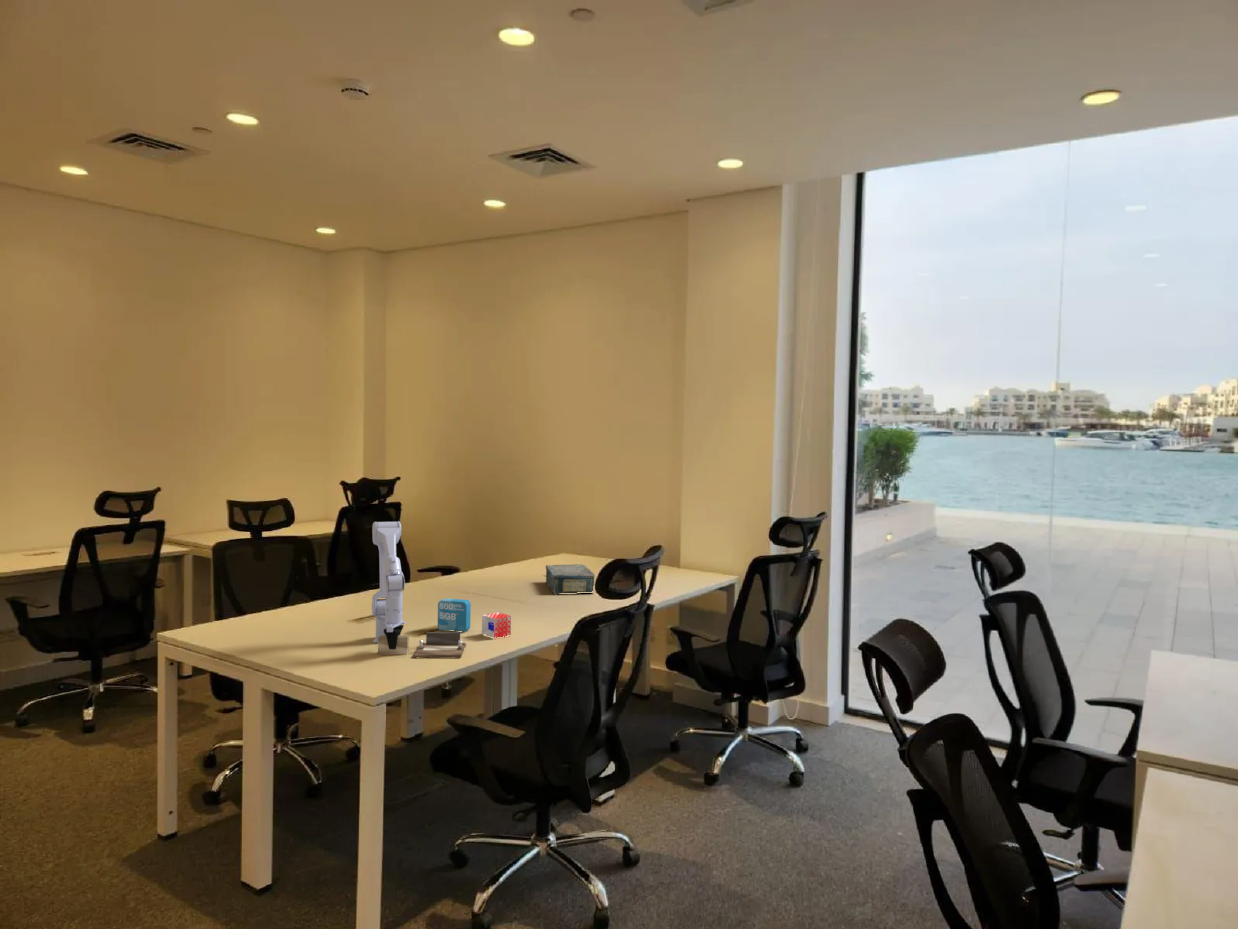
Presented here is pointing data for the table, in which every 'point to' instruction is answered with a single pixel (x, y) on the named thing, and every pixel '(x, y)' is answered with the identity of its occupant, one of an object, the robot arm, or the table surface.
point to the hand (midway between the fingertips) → (393, 647)
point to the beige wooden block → (401, 645)
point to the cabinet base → (441, 645)
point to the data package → (454, 614)
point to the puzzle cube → (496, 625)
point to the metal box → (569, 578)
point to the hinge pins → (422, 644)
